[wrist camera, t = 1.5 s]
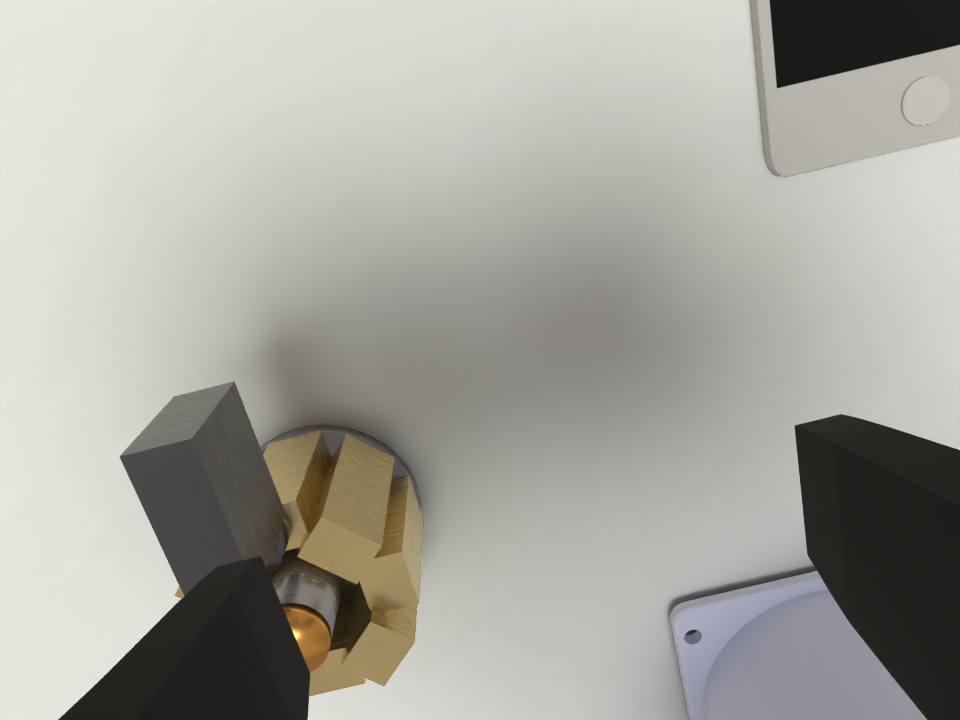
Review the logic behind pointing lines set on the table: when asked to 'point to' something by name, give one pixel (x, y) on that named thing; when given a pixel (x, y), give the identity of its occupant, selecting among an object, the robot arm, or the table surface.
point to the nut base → (308, 586)
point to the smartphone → (854, 78)
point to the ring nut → (286, 520)
